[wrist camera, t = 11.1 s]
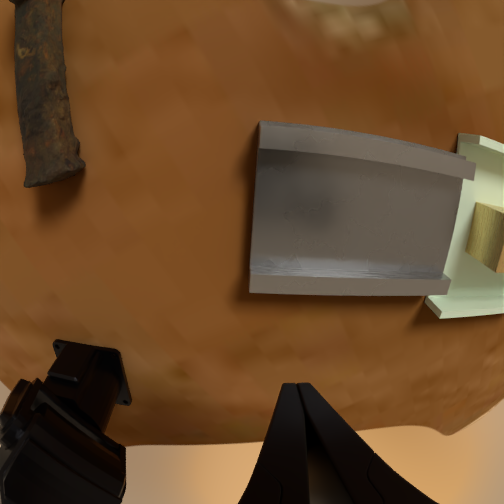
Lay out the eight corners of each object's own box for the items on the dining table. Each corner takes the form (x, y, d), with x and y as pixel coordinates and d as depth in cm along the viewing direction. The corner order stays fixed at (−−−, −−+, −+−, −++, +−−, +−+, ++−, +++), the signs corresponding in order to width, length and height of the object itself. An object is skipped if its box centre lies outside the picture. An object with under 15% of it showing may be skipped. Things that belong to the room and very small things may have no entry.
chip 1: (495, 253, 21) (525, 273, 17) (464, 251, 20) (495, 272, 17) (506, 208, 19) (538, 222, 15) (475, 201, 19) (510, 216, 15)
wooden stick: (96, 170, 18) (60, 182, 14) (49, 182, 18) (9, 197, 14) (88, -57, 11) (63, -83, 7) (44, -37, 11) (15, -57, 7)
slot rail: (429, 284, 22) (445, 298, 19) (248, 279, 21) (249, 297, 19) (456, 154, 18) (476, 158, 16) (258, 121, 17) (261, 119, 15)
